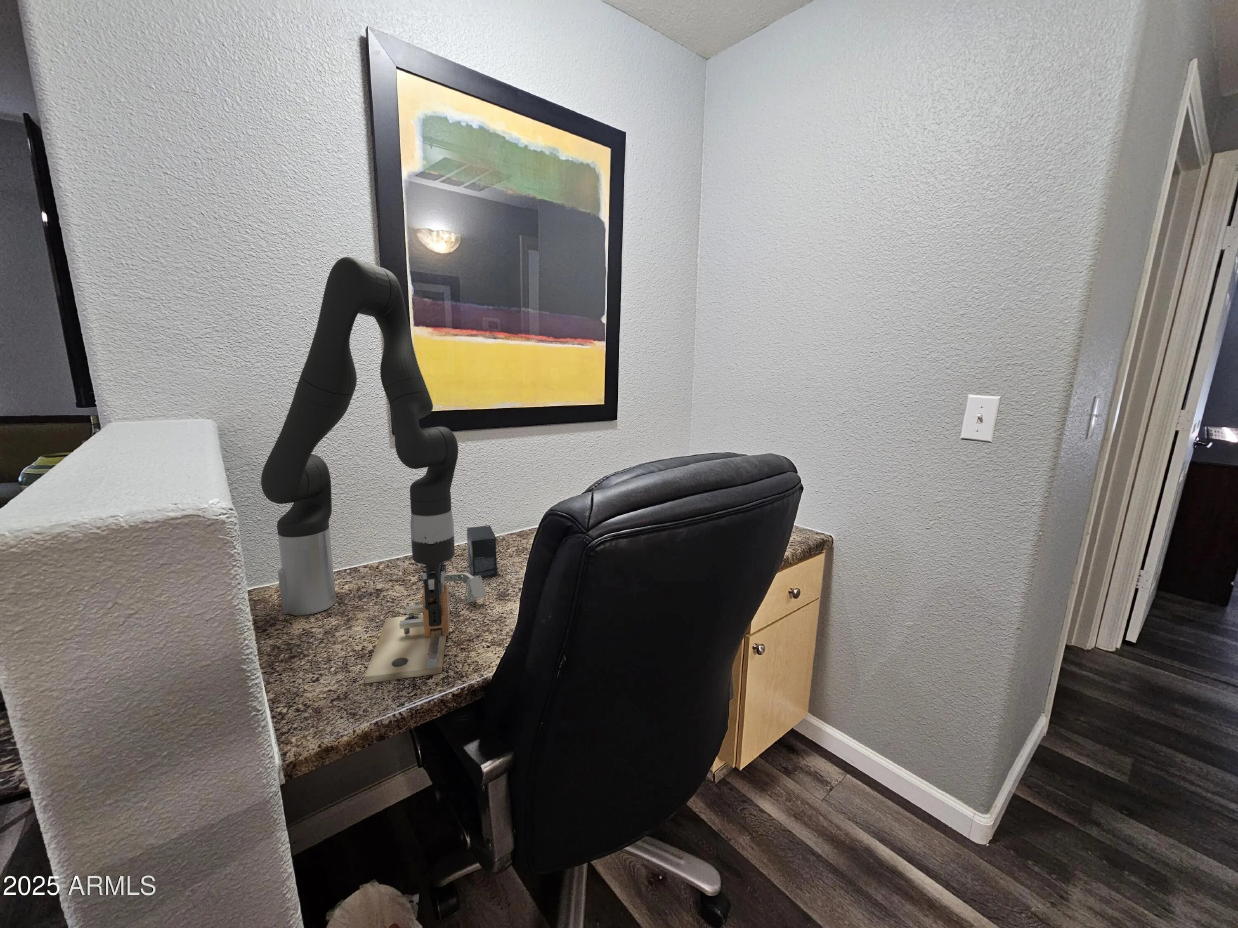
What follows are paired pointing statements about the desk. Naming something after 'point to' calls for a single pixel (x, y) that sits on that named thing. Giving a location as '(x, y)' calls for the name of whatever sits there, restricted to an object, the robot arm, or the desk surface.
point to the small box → (482, 551)
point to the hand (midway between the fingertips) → (437, 615)
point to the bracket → (468, 585)
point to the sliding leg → (425, 620)
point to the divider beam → (434, 640)
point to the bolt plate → (402, 653)
